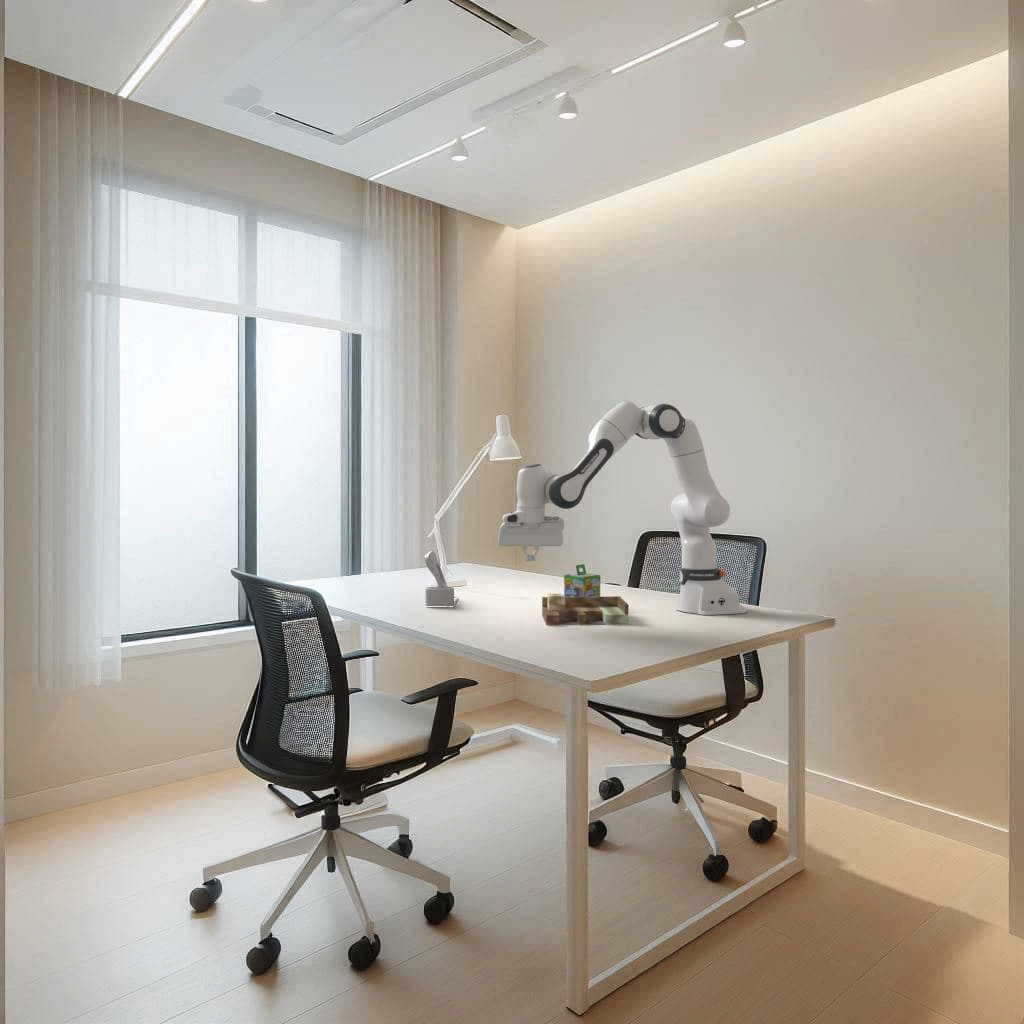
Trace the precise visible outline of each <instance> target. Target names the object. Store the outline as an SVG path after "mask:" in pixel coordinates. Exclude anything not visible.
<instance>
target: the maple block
mask: <svg viewBox="0 0 1024 1024" xmlns="http://www.w3.org/2000/svg"><path fill="white" fill-rule="evenodd" d="M547 597H548V610H549V611H563V610H565V595H564V592H563V593H547Z"/></svg>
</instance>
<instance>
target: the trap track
mask: <svg viewBox="0 0 1024 1024" xmlns="http://www.w3.org/2000/svg"><path fill="white" fill-rule="evenodd" d="M541 600H542V601H541V616H542V619H543V620H544V623H545V625H546V626H585V625H586V626H588V625H589V626H590V625H591V626H592V625H594V626H595V625H598V626H599V625H603V626H604V625H629V616H630V615H629V603H627V601H625V600H624V599H623V598H622V596H619V595H617V596H616V595H615V596H606V595H605V596H601V595H600V596H599V597H565V610H563V611H549V610H548V596H542V597H541Z"/></svg>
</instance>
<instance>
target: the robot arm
mask: <svg viewBox="0 0 1024 1024" xmlns="http://www.w3.org/2000/svg"><path fill="white" fill-rule="evenodd" d="M591 429H592V430H591V431H590V432H589V433H588V436H587V437H588V438H587V441H588V446H589V447H588V450H587V452H586V454H585V455H584V456H583V457H582V459H580V461H579V462H578V463H577V465H576V466H574V467H573V469H572V470H571V471H569V472H568V473H566V474H563V475H562V474H559V473H556V472H554V471H551V470H550V469H547V468H546V467H545V466H544V465H543V464H541V463H535V464H529V465H525V466H522V467H521V468H519V470H518V472H517V477H516V479H517V480H516V496H517V503H516V511H512V512H510V513H505V514H503V515H502V523H501V524H500V527H499V531H498V532H499V533H498V540H497V541H498V545H499V546H500V547H522V548H521V549H522V552H523V553H524V555H525V561H527V562H530V561H531V562H535V561H536V555H537V554H538V552H539V550H540V547H562V545H563V544H564V536H563V535H564V534H563V530H564V527H565V522H564V520H563V519H562V517H559V516H545V515H546V512H545V511H546V510H545V509H546V504H550V505H553V506H557V507H558V508H561V509H565V510H567V509H568V510H569V509H574V508H575V507H576V506H578V505H579V504H580V503H581V501H582V499H583V498H584V494H585V492H586V488H587V487H588V485H589V484H590V483H591V481H593V479H594V478H595V476H596V475H597V474H599V472H600V471H601V470H602V469H603V467H604V466H605V465H606V464H607V462H608V461H609V460H610V459H611V458H612V457H613V456H614V455H616V453H618V452H619V451H620V450H621V449H622V448H623V447H624V446H625V445H626V444H627V443H628V441H629V440H630V439H631V438H632V437H633V436H634V435H636V436H637V437H639V438H641V439H643V440H644V439H645V440H660V439H662V440H663V441H665V443H666V446H667V447H668V453H669V458H670V463H671V467H672V471H673V476H674V480H675V481H676V482H677V483H678V484H679V485H680V487H681V489H682V491H683V492H684V493H681V494H678V495H676V496H675V497H674V498H673V500H672V501H671V503H670V512H671V515H672V517H673V518H674V520H675V523H676V525H677V529H678V533H679V536H680V544H681V566H680V570H679V583H680V589H679V596H678V600H677V605H676V608H675V609H676V610H677V611H680V612H684V613H689V614H697V615H702V616H712V615H713V616H714V615H715V616H717V615H734V614H735V615H736V614H737V615H738V614H746V613H747V608H746V607H745V606H743V605H741V604H740V598H739V593H738V592H737V591H736V589H734V588H732V586H730V585H729V584H728V583H727V582H725V581H724V580H723V579H722V578H723V577H724V578H725V577H726V576H727V572H726V570H724V569H721V570H720V569H719V568H718V567H717V544H716V542H715V540H714V539H713V538H712V535H711V532H710V528H713V527H714V528H715V527H719V526H721V525H722V526H723V524H725V523H726V522H727V521H728V519H729V517H730V515H731V507H730V504H729V501H728V500H726V498H725V497H723V495H722V494H721V493H720V491H719V490H718V489H719V488H718V487H717V485H716V484H715V482H714V479H713V477H712V475H711V473H710V470H709V465H708V462H707V457H706V454H705V453H706V452H705V447H704V444H703V440H702V437H701V434H700V431H699V429H698V427H697V425H696V423H695V422H694V421H693V420H692V419H689V418H684V417H683V415H682V413H681V412H680V411H679V409H678V408H677V407H675V406H674V405H672V404H668V403H658V404H655V403H654V404H651V405H649V406H642V407H639V406H638V405H637V404H635V403H634V402H632V401H628V400H627V401H625V400H624V401H621V402H619V403H618V404H617V405H615V406H614V407H613V408H611V409H610V410H609V411H608V412H607V413H606V414H605V415H603V417H601V418H600V420H598V422H596V424H595V425H594V427H593V428H591ZM528 547H533V550H534V551H533V553H532V554H528V552H527V551H528Z"/></svg>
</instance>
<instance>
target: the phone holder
mask: <svg viewBox="0 0 1024 1024" xmlns="http://www.w3.org/2000/svg"><path fill="white" fill-rule="evenodd" d="M424 561H425V564H426V566H427V569H428V570H429V571H430V573H431V575H432V576H433V577H434V579H435V581H436V584H437V586H428V587H425V605H426V606H454V605H455V604H457V603H456V602H458V601H459V596H458V597H457V596H455V588H454V587H452V586H451V587H450V586H448V585H447V582H446V579H445V576H444V574H443V570H442V568H441V564H440V563H439V560H438V557H437V555H436V553H435V551H434V550H431V551H428V552H427V553H426V554H425V555H424ZM454 598H456V599H455V601H454ZM457 600H458V601H457ZM455 606H456V605H455Z"/></svg>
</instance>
